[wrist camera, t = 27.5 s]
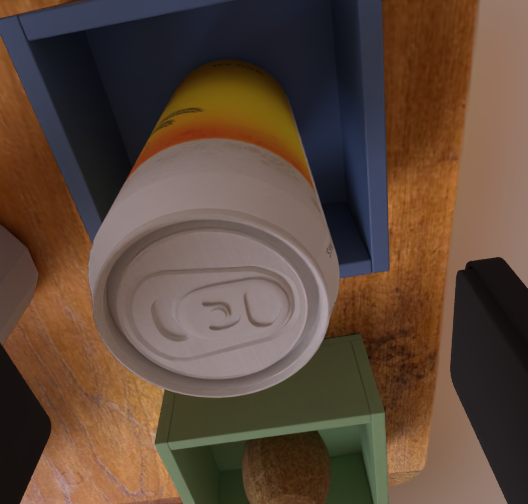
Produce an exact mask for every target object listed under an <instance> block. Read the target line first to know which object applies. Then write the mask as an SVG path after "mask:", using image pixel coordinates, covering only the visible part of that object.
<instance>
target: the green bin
mask: <svg viewBox="0 0 528 504" xmlns="http://www.w3.org/2000/svg"><path fill="white" fill-rule="evenodd" d="M315 430H318V432H319V434H320V435H321V437H322V439H323V441H324V443H325V445H326V447H327V449H328V453H329V457H330V465H331V477H330V487H329V494H328V497H327V500H326V503H325V504H389V495H388V472H387V449H386V426H385V411H384V408H383V405H382V401H381V398H380V395H379V392H378V388H377V385H376V382H375V379H374V375H373V372H372V369H371V366H370V362H369V359H368V356H367V353H366V349H365V346H364V343H363V340H362V337H361V334H355V335H349V336H342V337H335V338H329V339H323V341H322V343H321V345H320V346H319V348H318V350H317V351H316V353H315V354H314V355H313V357H312V358H311V359H310V360H309V361H308V362H307V363H306V364H305V365H304V366H303V367H302V368H301V369H300V370H298V371H297V372H296V373H295V374H293V375H292V376H290V377H289V378H287V379H285V380H284V381H282V382H280V383H278V384H276V385H274V386H271V387H269V388H267V389H264V390H261V391H258V392H254V393H250V394H246V395H240V396H234V397H221V398H209V397H196V396H190V395H184V394H180V393H176V392H172V391H169V390H166V389H165V391H164V396H163V402H162V407H161V412H160V418H159V423H158V428H157V433H156V439H155V447H156V449H157V451H158V453H159V455H160V457H161V459H162V461H163V463H164V465H165V467H166V469H167V471H168V473H169V475H170V477H171V479H172V481H173V483H174V485H175V487H176V489H177V491H178V493H179V495H180V497H181V500H182V502H183V504H250V502H249V500H248V498H247V495H246V492H245V488H244V483H243V473H242V456H243V450H244V447H245V444H246V441H247V440H249V439H256V438H263V437H271V436H278V435H285V434H293V433H300V432H307V431H315Z"/></svg>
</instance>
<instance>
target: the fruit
mask: <svg viewBox="0 0 528 504" xmlns="http://www.w3.org/2000/svg"><path fill="white" fill-rule="evenodd" d="M242 473H243V483H244V488H245V492H246V495H247V498H248V500H249V502H250V504H325V503H326V500H327V497H328V494H329V487H330V477H331V465H330V457H329V453H328V449H327V447H326V445H325V443H324V441H323V439H322V437H321V435H320V434H319V432H318V430H315V431H307V432H300V433H293V434H285V435H278V436H271V437H263V438H256V439H249V440H247V441H246V444H245V447H244V450H243V456H242Z"/></svg>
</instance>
